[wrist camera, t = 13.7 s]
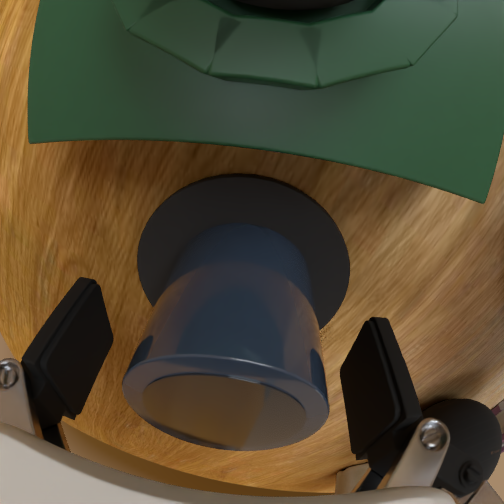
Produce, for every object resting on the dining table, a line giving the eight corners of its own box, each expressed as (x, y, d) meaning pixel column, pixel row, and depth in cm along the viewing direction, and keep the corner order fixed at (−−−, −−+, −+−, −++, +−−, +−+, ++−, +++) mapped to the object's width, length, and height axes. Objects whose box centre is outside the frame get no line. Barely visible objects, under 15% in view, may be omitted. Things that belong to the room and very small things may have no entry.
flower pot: (343, 480, 31) (346, 528, 23) (310, 473, 28) (310, 531, 20) (402, 461, 27) (410, 512, 20) (378, 452, 24) (387, 517, 17)
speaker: (378, 442, 22) (388, 527, 13) (387, 399, 17) (408, 522, 9) (464, 413, 20) (485, 490, 11) (495, 359, 15) (536, 458, 7)
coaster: (150, 332, 14) (148, 338, 14) (135, 163, 10) (130, 166, 9) (316, 355, 15) (317, 361, 14) (374, 195, 10) (378, 199, 10)
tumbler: (177, 322, 13) (141, 434, 8) (174, 213, 10) (96, 333, 5) (294, 337, 13) (298, 456, 8) (325, 234, 10) (365, 370, 5)
